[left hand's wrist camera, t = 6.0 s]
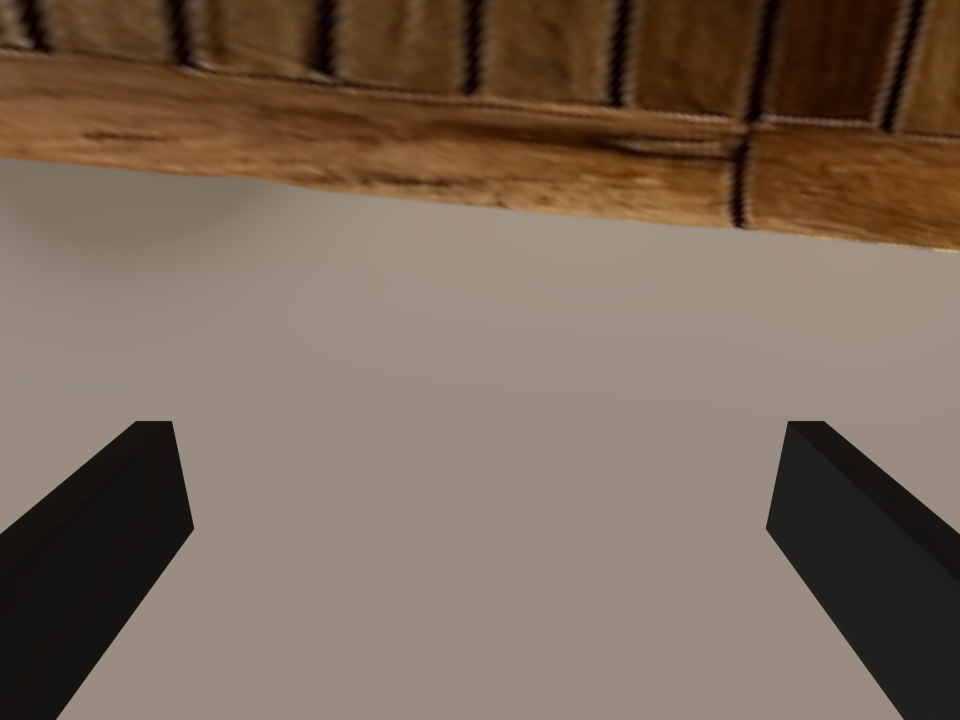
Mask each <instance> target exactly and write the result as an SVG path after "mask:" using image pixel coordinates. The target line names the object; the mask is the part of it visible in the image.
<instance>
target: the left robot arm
mask: <svg viewBox="0 0 960 720" xmlns="http://www.w3.org/2000/svg"><path fill="white" fill-rule="evenodd" d="M193 530H194V525H193V521H192V516H191V511H190V506H189V501H188V496H187V492H186V487H185V482H184V477H183V472H182V468H181V463H180V458H179V453H178V448H177V443H176V438H175V434H174V429H173V424H172V421H136V422H134V423H133V424H132V425H131V426H130V427H128V428H127V429H126V430H125V431H124V432H122V433H121V434H120V435H119V436H118V437H116V438H115V439H114V440H113V441H112V442H110V443H109V444H108V445H107V446H106V447H104V448H103V449H102V450H101V451H100V452H98V453H97V454H96V455H95V456H94V457H92V458H91V459H90V460H89V461H88V462H86V463H85V464H84V465H83V466H82V467H80V468H79V469H78V470H77V471H76V472H74V473H73V474H72V475H71V476H70V477H68V478H67V479H66V480H65V481H64V482H62V483H61V484H60V485H59V486H58V487H56V488H55V489H54V490H53V491H52V492H50V493H49V494H48V495H47V496H46V497H44V498H43V499H42V500H41V501H40V502H38V503H37V504H36V505H35V506H34V507H32V508H31V509H30V510H29V511H28V512H26V513H25V514H24V515H23V516H22V517H20V518H19V519H18V520H17V521H16V522H14V523H13V524H12V525H11V526H10V527H8V528H7V529H6V530H5V531H4V532H2V533H1V534H0V720H56V719H57V718H58V716H59V715H60V713H61V712H62V711H63V709H64V708H65V707H66V705H67V704H68V702H69V701H70V700H71V698H72V697H73V696H74V694H75V693H76V691H77V690H78V689H79V687H80V686H81V684H82V683H83V682H84V680H85V679H86V678H87V676H88V675H89V673H90V672H91V671H92V669H93V668H94V666H95V665H96V664H97V662H98V661H99V660H100V658H101V657H102V655H103V654H104V653H105V651H106V650H107V649H108V647H109V646H110V644H111V643H112V642H113V640H114V639H115V638H116V636H117V635H118V633H119V632H120V631H121V629H122V628H123V626H124V625H125V624H126V622H127V621H128V620H129V618H130V617H131V615H132V614H133V613H134V611H135V610H136V609H137V607H138V606H139V604H140V603H141V601H142V600H143V599H144V597H145V596H146V595H147V593H148V592H149V591H150V589H151V588H152V586H153V585H154V584H155V582H156V581H157V580H158V578H159V577H160V575H161V574H162V573H163V571H164V570H165V568H166V567H167V566H168V564H169V563H170V562H171V560H172V559H173V557H174V556H175V555H176V553H177V552H178V551H179V549H180V548H181V546H182V545H183V544H184V542H185V541H186V540H187V538H188V537H189V535H190V534H191V533H192V531H193ZM766 530H767V531H768V533H769V534H770V535H771V537H772V538H773V539H774V541H775V542H776V544H777V545H778V546H779V548H780V549H781V551H782V552H783V553H784V555H785V556H786V557H787V559H788V560H789V562H790V563H791V564H792V566H793V567H794V568H795V570H796V571H797V573H798V574H799V575H800V577H801V578H802V580H803V581H804V582H805V584H806V585H807V586H808V588H809V589H810V591H811V592H812V593H813V595H814V596H815V597H816V599H817V600H818V602H819V603H820V604H821V606H822V607H823V608H824V610H825V611H826V613H827V614H828V615H829V617H830V618H831V619H832V621H833V622H834V624H835V625H836V626H837V628H838V629H839V631H840V632H841V633H842V635H843V636H844V638H845V639H846V640H847V642H848V643H849V644H850V646H851V647H852V649H853V650H854V651H855V653H856V654H857V655H858V657H859V658H860V660H861V661H862V662H863V664H864V665H865V667H866V668H867V669H868V671H869V672H870V673H871V675H872V676H873V678H874V679H875V680H876V682H877V683H878V684H879V686H880V687H881V689H882V690H883V691H884V693H885V694H886V696H887V697H888V698H889V700H890V701H891V702H892V704H893V705H894V706H895V708H896V709H897V711H898V712H899V713H900V715H901V716H902V718H903V719H904V720H960V534H959V533H958V532H956V531H955V530H954V529H953V528H952V527H950V526H949V525H948V524H947V523H945V522H944V521H943V520H942V519H941V518H940V517H938V516H937V515H936V514H935V513H934V512H932V511H931V510H930V509H929V508H928V507H926V506H925V505H924V504H923V503H922V502H920V501H919V500H918V499H917V498H916V497H914V496H913V495H912V494H911V493H910V492H908V491H907V490H906V489H905V488H904V487H902V486H901V485H900V484H899V483H898V482H896V481H895V480H894V479H893V478H892V477H890V476H889V475H888V474H887V473H886V472H884V471H883V470H882V469H881V468H880V467H878V466H877V465H876V464H875V463H874V462H872V461H871V460H870V459H869V458H868V457H866V456H865V455H864V454H863V453H862V452H860V451H859V450H858V449H857V448H856V447H854V446H853V445H852V444H851V443H850V442H848V441H847V440H846V439H845V438H844V437H842V436H841V435H840V434H839V433H838V432H837V431H835V430H834V429H833V428H832V427H830V426H829V425H828V424H827V423H826V422H825V421H788V424H787V429H786V434H785V438H784V443H783V448H782V453H781V458H780V463H779V467H778V472H777V477H776V482H775V487H774V492H773V496H772V501H771V506H770V511H769V516H768V521H767V525H766Z"/></svg>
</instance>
